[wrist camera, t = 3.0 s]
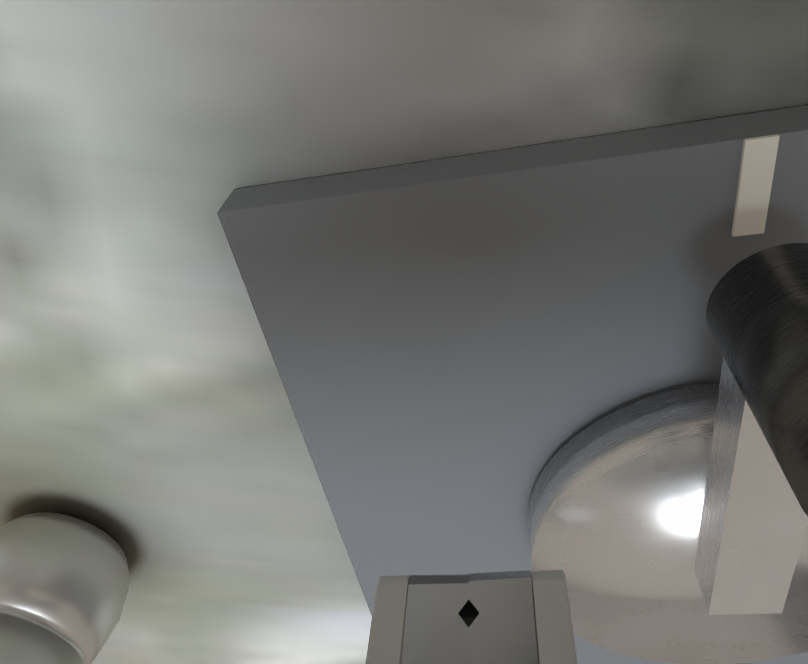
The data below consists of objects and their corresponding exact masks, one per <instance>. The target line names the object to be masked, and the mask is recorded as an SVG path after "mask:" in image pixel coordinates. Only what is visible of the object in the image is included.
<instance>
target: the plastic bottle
mask: <svg viewBox="0 0 808 664" xmlns="http://www.w3.org/2000/svg"><path fill="white" fill-rule="evenodd" d="M129 584H130V578H129V571H128V565H127V559H126V557H125V554H124V552H123V550H122V549H121V547H120V546H119V545H118V544H117V543H116V542H115V541H114V540H113V539H112V538H111V537H110V536H109V535H108V534H106V533H105V532H103V531H102V530H101V529H99V528H97V527H95V526H93V525H92V524H90V523H87V522H85V521H83V520H80V519H77V518H74V517H71V516H68V515H63V514H57V513H47V512H39V513H30V514H27V515H23V516H21V517H18V518H16V519H14V520H12V521H9V522H7V523H5V524H3V525H1V526H0V664H91V663H92V662H93V660H94V659H95V657H96V656H97V655H98V653H99V652H100V650H101V649H102V647H103V646H104V644H105V642H106V641H107V639H108V638H109V636H110V634H111V633H112V631H113V629H114V628H115V626H116V624H117V623H118V621H119V620H120V616H121V613H122V609H123V606H124V602H125V598H126V595H127V591H128V588H129Z"/></svg>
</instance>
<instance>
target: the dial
mask: <svg viewBox="0 0 808 664" xmlns="http://www.w3.org/2000/svg"><path fill="white" fill-rule="evenodd" d="M706 319H707V325H708V328H709V330H710V332H711V334H712V336H713V338H714V340H715V342H716V344H717V346H718V348H719V350H720V352H721V353H722V355H723V362H722V370H721V377H720V382H715V383H707V384H699V385H694V386H690V387H685V388H680V389H676V390H671V391H668V392H664V393H661V394H658V395H655V396H652V397H649V398H645V399H642V400H640V401H638V402H635V403H633V404H630V405H628V406H626V407H623V408H621V409H618V410H617V411H615V412H613V413H611V414H609V415H607V416H605V417H604V418H602V419H600V420H598V421H596V422H595V423H593V424H592V425H590V426H589V427H587V428H586V429H584V430H583V431H581V432H580V433H579V434H577V435H576V436H575V437H573V438H572V439H571V440H570V441H569V442H568V443H567V444H566V445H564V446H563V447H562V448H561V449H560V450H559V451H558V452H557V453H556V454H555V456H554V457H553V458H552V459H551V460H550V461H549V462H548V464H547V465H546V466H545V468H544V470H543V471H542V473H541V474H540V476H539V478H538V479H537V481H536V484H535V486H534V489H533V491H532V493H531V497H530V502H529V507H528V530H529V541H530V552H531V563H532V571H546V570H564V573H565V576H566V581H567V589H568V596H569V603H570V611H571V618H572V625H573V632H574V633H575V634H577V635H579V636H581V637H582V638H584V639H586V640H588V641H589V642H592V643H594V644H597V645H599V646H601V647H604V648H606V649H609V650H612V651H615V652H618V653H621V654H624V655H628V656H633V657H637V658H641V659H646V660H652V661H659V662H665V663H676V664H740V663H750V662H759V661H765V660H771V659H777V658H782V657H787V656H791V655H796V654H800V653H804V652H808V243H788V244H782V245H777V246H774V247H770V248H767V249H764V250H761V251H759V252H757V253H755V254H753V255H751V256H749V257H747V258H745V259H744V260H742V261H740V262H739V263H738V264H736V265H735V266H734V267H732V268H731V269H730V270H729V271H728V272H727V273H726V274H725V275H724V276H723V277H722V278H721V279H720V281H719V282H718V283H717V285H716V286H715V288H714V289H713V291H712V293H711V295H710V298H709V301H708V304H707V309H706Z"/></svg>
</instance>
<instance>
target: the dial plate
mask: <svg viewBox="0 0 808 664" xmlns="http://www.w3.org/2000/svg"><path fill="white" fill-rule="evenodd" d="M217 213H218V216H219V219H220V221H221V224H222V227H223V229H224V232H225V234H226V237H227V240H228V242H229V245H230V247H231V250H232V253H233V255H234V258H235V260H236V263H237V266H238V268H239V271H240V273H241V276H242V279H243V281H244V284H245V286H246V289H247V292H248V294H249V297H250V299H251V302H252V305H253V307H254V310H255V312H256V315H257V318H258V320H259V323H260V326H261V328H262V331H263V333H264V336H265V339H266V341H267V344H268V346H269V349H270V352H271V354H272V357H273V359H274V362H275V365H276V367H277V370H278V372H279V375H280V378H281V380H282V383H283V385H284V388H285V391H286V393H287V396H288V398H289V401H290V404H291V406H292V409H293V412H294V414H295V417H296V419H297V422H298V425H299V427H300V430H301V432H302V435H303V438H304V440H305V443H306V445H307V448H308V451H309V453H310V456H311V458H312V461H313V464H314V466H315V469H316V471H317V474H318V477H319V479H320V482H321V484H322V487H323V490H324V492H325V495H326V497H327V500H328V503H329V505H330V508H331V511H332V513H333V516H334V518H335V521H336V524H337V526H338V529H339V531H340V534H341V537H342V539H343V542H344V544H345V547H346V550H347V552H348V555H349V557H350V560H351V563H352V565H353V568H354V570H355V573H356V576H357V578H358V581H359V583H360V586H361V589H362V591H363V594H364V596H365V599H366V602H367V604H368V607H369V610H370V612H371V615H373V608H374V601H375V594H376V587H377V584H378V581H379V579H380V576H394V575H448V574H470V573H486V572H505V571H525V570H531V575H532V563H531V552H530V541H529V530H528V507H529V502H530V497H531V493H532V491H533V489H534V486H535V484H536V481H537V479H538V478H539V476H540V474H541V473H542V471H543V470H544V468H545V466H546V465H547V464H548V462H549V461H550V460H551V459H552V458H553V457H554V456H555V454H556V453H557V452H558V451H559V450H560V449H561V448H562V447H563V446H564V445H566V444H567V443H568V442H569V441H570V440H571V439H572V438H573V437H575V436H576V435H577V434H579V433H580V432H581V431H583V430H584V429H586V428H587V427H589V426H590V425H592V424H593V423H595V422H596V421H598V420H600V419H602V418H604V417H605V416H607V415H609V414H611V413H613V412H615V411H617V410H618V409H621V408H623V407H626V406H628V405H630V404H633V403H635V402H638V401H640V400H642V399H645V398H649V397H652V396H655V395H658V394H661V393H664V392H668V391H671V390H676V389H680V388H685V387H690V386H694V385H699V384H707V383H715V382H720V377H721V370H722V362H723V355H722V353H721V352H720V350H719V348H718V346H717V344H716V342H715V340H714V338H713V336H712V334H711V332H710V330H709V328H708V325H707V319H706V309H707V304H708V301H709V298H710V295H711V293H712V291H713V289H714V288H715V286H716V285H717V283H718V282H719V281H720V279H721V278H722V277H723V276H724V275H725V274H726V273H727V272H728V271H729V270H730V269H731V268H732V267H734V266H735V265H736V264H738V263H739V262H740V261H742V260H744V259H745V258H747V257H749V256H751V255H753V254H755V253H757V252H759V251H761V250H764V249H767V248H770V247H774V246H777V245H782V244H788V243H808V105H804V106H797V107H790V108H784V109H777V110H770V111H763V112H756V113H749V114H743V115H736V116H729V117H722V118H715V119H708V120H702V121H695V122H688V123H681V124H674V125H668V126H661V127H654V128H647V129H640V130H633V131H627V132H620V133H613V134H606V135H599V136H593V137H586V138H579V139H572V140H565V141H558V142H552V143H545V144H538V145H531V146H524V147H518V148H511V149H504V150H497V151H490V152H483V153H477V154H470V155H463V156H456V157H449V158H442V159H436V160H429V161H422V162H415V163H408V164H402V165H395V166H388V167H381V168H374V169H367V170H361V171H354V172H347V173H340V174H333V175H327V176H320V177H313V178H306V179H299V180H292V181H286V182H279V183H272V184H265V185H258V186H251V187H245V188H238V189H234V190H233V192H232V193H231V195H230V196H229V197H228V199H227V200H226V201H225V203H224V204H223V206H222V207H221V208H220V210H219V211H218V212H217ZM532 583H533V582H532ZM573 633H574V632H573ZM574 640H575V647H576V655H577V662H578V664H676V663H665V662H659V661H652V660H646V659H641V658H637V657H633V656H628V655H624V654H621V653H618V652H615V651H612V650H609V649H606V648H604V647H601V646H599V645H597V644H594V643H592V642H589V641H588V640H586V639H584V638H582V637H581V636H579V635H577V634H575V633H574ZM740 664H808V652H804V653H800V654H796V655H791V656H787V657H782V658H777V659H771V660H765V661H759V662H750V663H740Z"/></svg>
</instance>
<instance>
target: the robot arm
mask: <svg viewBox="0 0 808 664" xmlns="http://www.w3.org/2000/svg"><path fill="white" fill-rule="evenodd" d="M532 582H533V583H532ZM366 664H578V662H577V655H576V647H575V640H574V633H573V625H572V618H571V611H570V603H569V596H568V589H567V581H566V576H565V573H564V570H546V571H532V575H531V570H525V571H505V572H486V573H470V574H448V575H394V576H380V579H379V581H378V584H377V587H376V594H375V601H374V608H373V615H372V622H371V629H370V637H369V644H368V651H367V658H366Z"/></svg>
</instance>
